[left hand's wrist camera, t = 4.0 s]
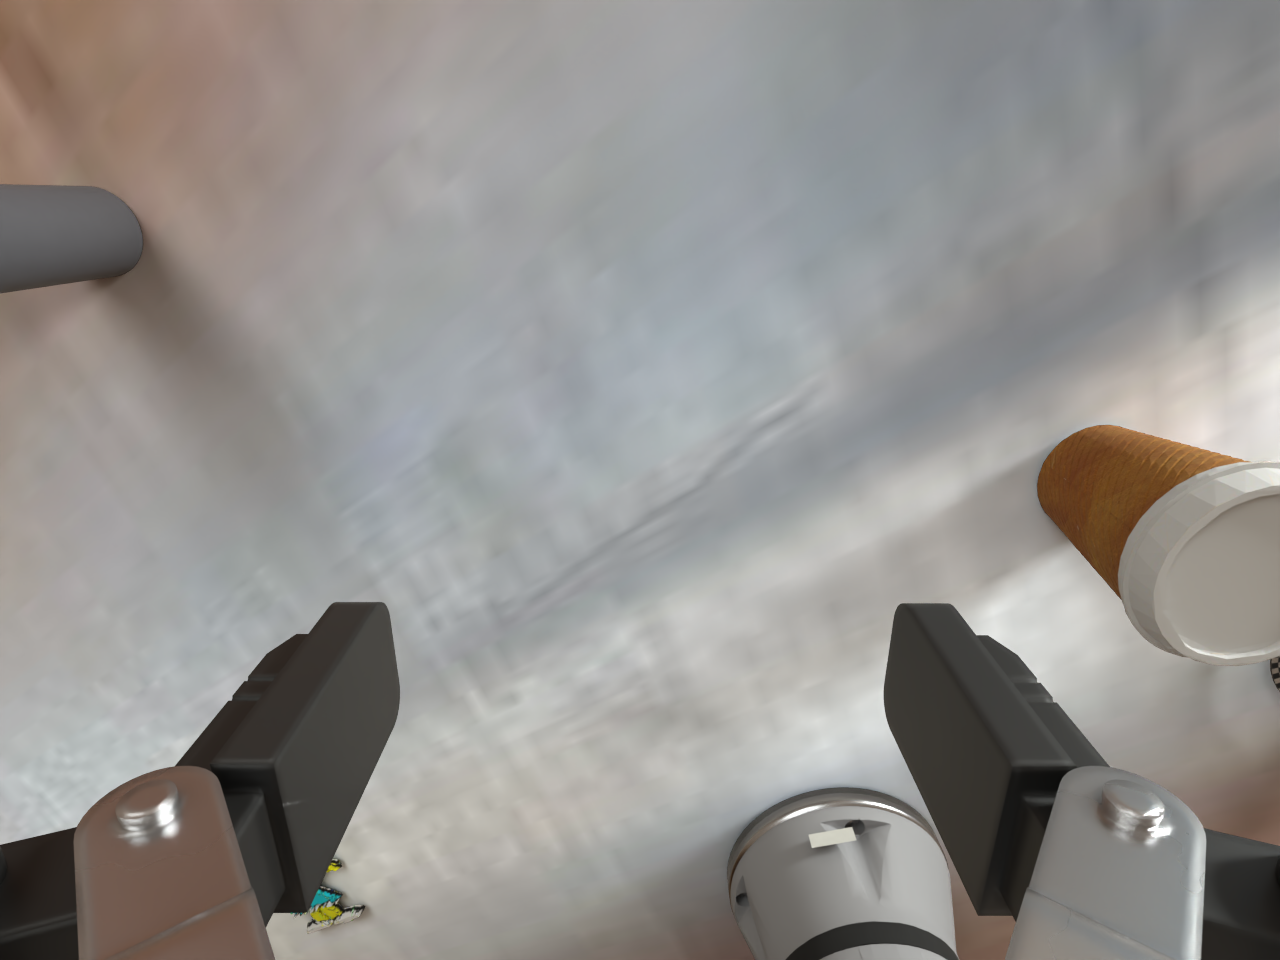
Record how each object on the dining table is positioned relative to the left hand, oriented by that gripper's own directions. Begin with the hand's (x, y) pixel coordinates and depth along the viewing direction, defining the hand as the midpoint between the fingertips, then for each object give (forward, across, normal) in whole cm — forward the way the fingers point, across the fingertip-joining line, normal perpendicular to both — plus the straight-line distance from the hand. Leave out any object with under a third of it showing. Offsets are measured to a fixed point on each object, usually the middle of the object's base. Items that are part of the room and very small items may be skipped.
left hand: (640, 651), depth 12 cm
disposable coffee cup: (+29, -26, +8) cm, 40 cm away
